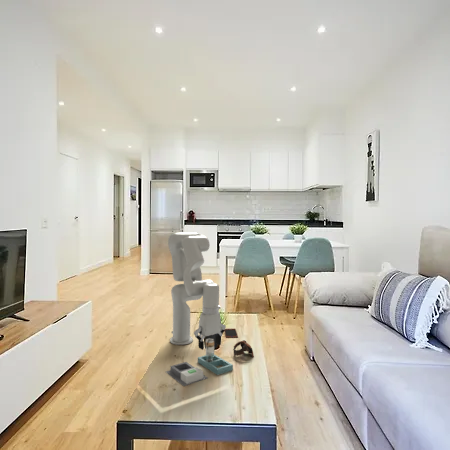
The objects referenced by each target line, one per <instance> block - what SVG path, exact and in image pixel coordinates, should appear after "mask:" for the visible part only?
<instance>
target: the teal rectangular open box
mask: <svg viewBox="0 0 450 450" xmlns="http://www.w3.org/2000/svg"><path fill="white" fill-rule="evenodd" d="M197 363H198V364H200V365H201V366H203V367H204V368H206V369H207V370H209V371H210V372H212V373H213V374H215V375H217V376H219V375H221V374H225V373H229V372H231V371H233V370H234V365H233V364H232V363H231V362H229V361H227V360H225V359H224V358H222V357H220V356H218V355H217V354H215V353H214V361H212V362H207V361H206V354H205V355H202V356H198V357H197ZM219 366H222V367H219Z"/></svg>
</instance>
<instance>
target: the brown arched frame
mask: <svg viewBox="0 0 450 450" xmlns="http://www.w3.org/2000/svg"><path fill="white" fill-rule="evenodd" d="M238 346H240V347H241V348H240V349H237V347H238ZM232 351H233V356H241V355H244V356H245V352H248V354H251V356H252V358H254V356H255V355H254V351H253V348H252V346H251V345H250V344H249V343H248V342H247V341H246V340H240V341H238V342H236V343H235V344H234V345H233V349H232Z"/></svg>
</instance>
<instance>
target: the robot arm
mask: <svg viewBox="0 0 450 450" xmlns="http://www.w3.org/2000/svg"><path fill="white" fill-rule="evenodd" d="M167 242H168V243H167V245H168V249H169V252H170V256H171V263H172V265H171V266H172V277H173V280H174V281H176V282H183V283H178V284H175V285H174V286H172V287H171V291H170V292H171V293H170V294H171V301H172V331H171V335H172V337H170V339H169V342H170V343H171V344H172V345H177V346H184V345H188V344H191V343H192V342H193V341H194V339H193V337H192V336H191V307H190V305H188V303H187V302H190V301H197V300H200V299H201V298H202V310H201V311H202V312H201V313H200V316H199V322H198V328H197V329H196V330H194V331H193V335H194V336H195V338H196V339H197V340H198V345H197V346H198V348H199V349H200V350H202V351H203V350H204V349H205V341H204V340H205V338H206V337H209V336H213V335H216V336H215V344H217V345H219V346H221V345H222V337H223V334H225V332H224V330H225V329H227V326H226V325H225V324H223V323H222V318H221V313H220V309H221V306H220V285H219V284H218V283H216V282H214V281H213V280H212V279H203V277H202V269H201V267H202V266H203V264H204V263H205V258H204V256H203V253H202V252H207V251H209V249H210V241H209V239H208V237H207V236H205V234H202V233H199V232H194V231H193V232H174V233H171V234H170V235H169V236H168V240H167Z"/></svg>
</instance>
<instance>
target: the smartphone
mask: <svg viewBox="0 0 450 450" xmlns="http://www.w3.org/2000/svg"><path fill="white" fill-rule="evenodd" d="M224 335H225V339H238V338H239V335H238V333H237V329H236V328H225V330H224Z"/></svg>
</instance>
